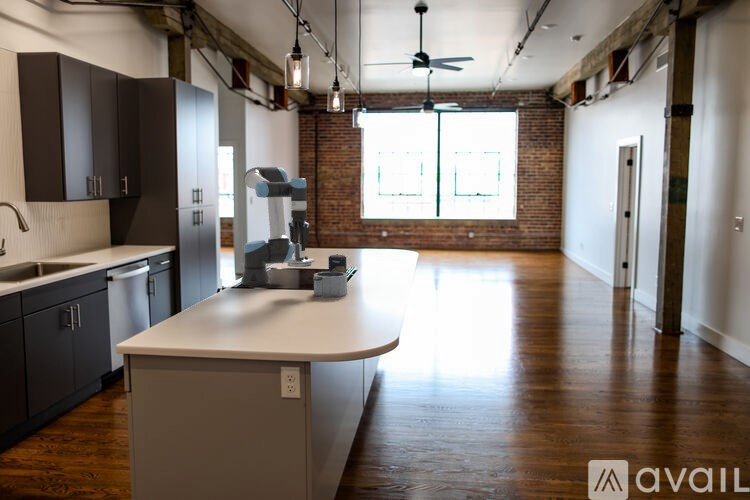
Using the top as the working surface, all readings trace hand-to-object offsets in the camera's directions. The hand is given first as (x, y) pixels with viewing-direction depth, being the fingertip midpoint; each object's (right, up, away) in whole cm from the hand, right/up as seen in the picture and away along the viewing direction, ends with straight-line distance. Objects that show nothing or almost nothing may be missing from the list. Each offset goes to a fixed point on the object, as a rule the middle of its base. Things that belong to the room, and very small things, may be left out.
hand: (299, 256), depth 299 cm
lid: (0, -4, 0) cm, 4 cm away
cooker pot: (+15, -19, +3) cm, 24 cm away
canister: (+17, -17, +22) cm, 33 cm away
